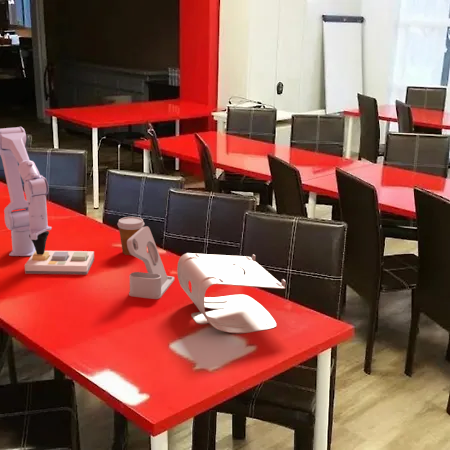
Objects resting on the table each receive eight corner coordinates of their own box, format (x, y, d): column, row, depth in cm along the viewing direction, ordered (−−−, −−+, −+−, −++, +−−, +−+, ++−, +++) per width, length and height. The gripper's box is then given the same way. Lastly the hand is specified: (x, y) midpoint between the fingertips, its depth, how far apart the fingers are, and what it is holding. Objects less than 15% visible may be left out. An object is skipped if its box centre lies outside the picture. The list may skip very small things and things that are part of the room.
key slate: (55, 257, 219) (55, 251, 218) (68, 257, 219) (68, 251, 218) (52, 261, 214) (52, 256, 214) (65, 262, 215) (65, 256, 214)
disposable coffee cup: (112, 253, 230) (111, 221, 227) (128, 246, 238) (127, 215, 235) (134, 258, 226) (134, 225, 223) (150, 250, 234) (149, 219, 231)
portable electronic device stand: (176, 302, 192) (176, 253, 187) (249, 292, 200) (251, 245, 195) (204, 340, 169) (204, 285, 165) (285, 328, 177) (288, 275, 173)
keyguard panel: (36, 258, 224) (35, 249, 223) (94, 259, 224) (93, 250, 223) (25, 273, 210) (24, 264, 209) (86, 274, 211) (86, 265, 210)
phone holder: (158, 300, 193) (158, 243, 188) (126, 296, 195) (125, 239, 190) (175, 278, 209) (175, 225, 204) (145, 275, 211) (145, 223, 206)
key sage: (74, 257, 219) (74, 252, 218) (87, 257, 219) (87, 252, 218) (72, 262, 215) (71, 256, 214) (85, 262, 215) (85, 256, 214)
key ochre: (36, 257, 219) (35, 251, 218) (49, 257, 219) (48, 251, 218) (32, 261, 214) (32, 255, 214) (45, 261, 214) (45, 256, 214)
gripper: (44, 221, 205) (47, 261, 209) (55, 208, 219) (57, 246, 223) (22, 220, 205) (25, 261, 209) (34, 208, 219) (36, 246, 223)
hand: (40, 253), depth 216 cm, fingers closed
